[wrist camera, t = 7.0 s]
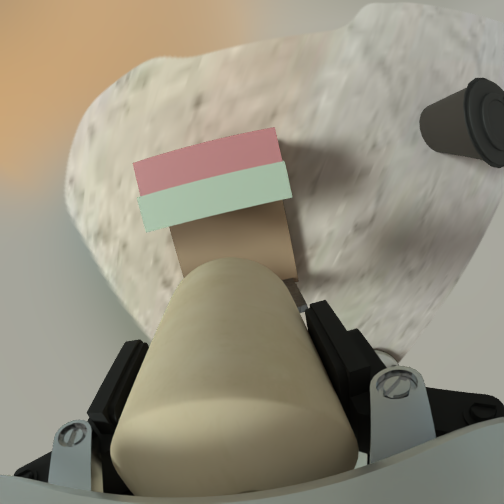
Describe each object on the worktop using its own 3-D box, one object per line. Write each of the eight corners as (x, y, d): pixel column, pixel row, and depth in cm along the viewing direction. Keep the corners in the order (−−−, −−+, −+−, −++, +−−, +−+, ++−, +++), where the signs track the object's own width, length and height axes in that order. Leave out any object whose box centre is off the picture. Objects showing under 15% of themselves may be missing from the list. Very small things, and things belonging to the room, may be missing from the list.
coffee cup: (455, 95, 25) (515, 81, 15) (467, 163, 27) (530, 167, 17) (402, 91, 25) (462, 69, 15) (415, 167, 27) (481, 171, 17)
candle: (316, 320, 14) (411, 507, 4) (225, 382, 14) (226, 570, 5) (241, 228, 12) (270, 410, 3) (146, 305, 13) (48, 495, 3)
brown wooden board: (295, 276, 29) (298, 281, 28) (194, 298, 29) (192, 305, 28) (266, 139, 26) (268, 137, 24) (158, 166, 26) (154, 166, 24)
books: (274, 190, 25) (292, 197, 18) (171, 214, 25) (146, 232, 18) (263, 140, 24) (276, 125, 16) (159, 165, 24) (128, 162, 16)
